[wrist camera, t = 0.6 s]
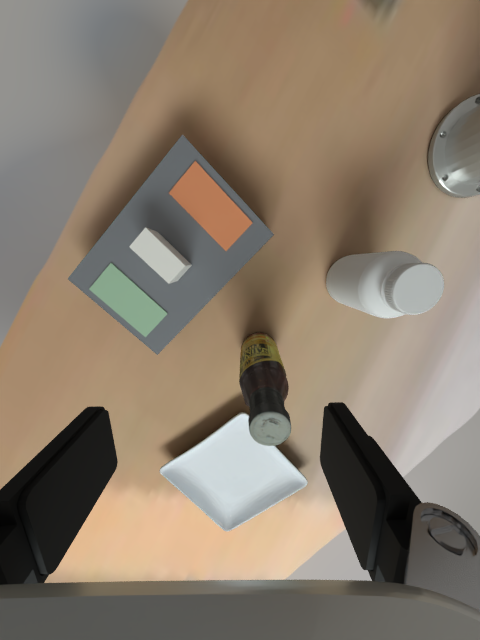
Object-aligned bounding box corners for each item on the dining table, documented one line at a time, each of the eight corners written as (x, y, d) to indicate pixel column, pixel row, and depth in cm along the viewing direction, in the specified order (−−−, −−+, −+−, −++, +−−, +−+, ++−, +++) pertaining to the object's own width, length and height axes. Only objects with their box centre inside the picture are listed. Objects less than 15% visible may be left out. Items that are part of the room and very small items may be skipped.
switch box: (192, 156, 33) (182, 133, 27) (268, 238, 36) (274, 234, 30) (94, 276, 37) (66, 278, 31) (169, 341, 40) (156, 355, 34)
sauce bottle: (260, 323, 39) (281, 383, 20) (282, 349, 41) (322, 428, 21) (232, 347, 40) (225, 424, 21) (254, 371, 42) (267, 465, 22)
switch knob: (157, 231, 30) (145, 227, 26) (192, 265, 31) (185, 265, 27) (143, 248, 30) (128, 246, 26) (177, 281, 31) (168, 283, 27)
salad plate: (306, 470, 48) (311, 485, 44) (227, 517, 51) (226, 535, 47) (244, 399, 43) (244, 411, 40) (162, 456, 47) (156, 471, 43)
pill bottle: (382, 265, 37) (474, 268, 23) (357, 310, 39) (428, 339, 24) (339, 246, 36) (406, 235, 22) (316, 292, 38) (363, 311, 24)
